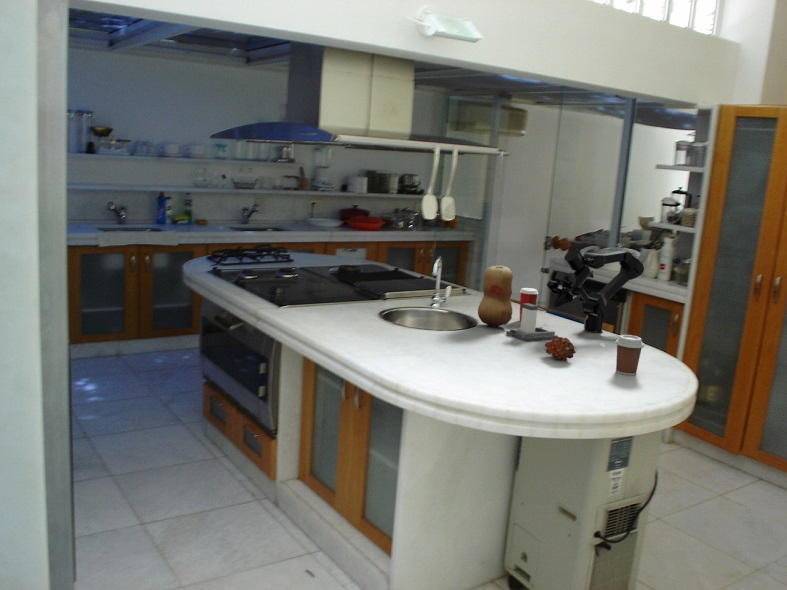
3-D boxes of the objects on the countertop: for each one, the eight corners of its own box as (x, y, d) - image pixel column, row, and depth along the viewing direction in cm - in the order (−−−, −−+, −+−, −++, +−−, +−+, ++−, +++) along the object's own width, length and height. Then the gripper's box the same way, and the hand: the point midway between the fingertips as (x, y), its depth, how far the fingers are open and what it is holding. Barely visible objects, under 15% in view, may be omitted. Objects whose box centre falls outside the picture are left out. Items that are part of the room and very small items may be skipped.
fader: (528, 331, 285) (531, 303, 283) (537, 334, 281) (540, 305, 278) (516, 332, 282) (519, 303, 280) (525, 336, 277) (528, 306, 275)
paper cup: (534, 320, 312) (537, 288, 310) (536, 324, 305) (539, 291, 302) (516, 318, 313) (519, 287, 310) (517, 322, 305) (520, 290, 303)
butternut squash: (474, 328, 290) (480, 266, 286) (478, 321, 303) (484, 262, 298) (509, 332, 287) (515, 270, 282) (512, 325, 300) (518, 265, 295)
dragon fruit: (572, 368, 247) (544, 364, 256) (584, 351, 251) (556, 348, 261) (563, 350, 244) (535, 347, 253) (575, 333, 248) (547, 330, 257)
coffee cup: (618, 366, 248) (622, 332, 245) (644, 372, 242) (649, 338, 240) (607, 371, 241) (611, 336, 238) (634, 378, 235) (638, 342, 233)
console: (536, 331, 292) (537, 325, 291) (557, 338, 282) (558, 332, 281) (506, 334, 284) (506, 328, 283) (526, 341, 274) (527, 335, 273)
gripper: (552, 260, 293) (529, 288, 290) (586, 268, 278) (562, 298, 274) (564, 279, 299) (541, 306, 295) (598, 287, 283) (575, 317, 280)
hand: (554, 306), depth 286 cm, fingers closed
